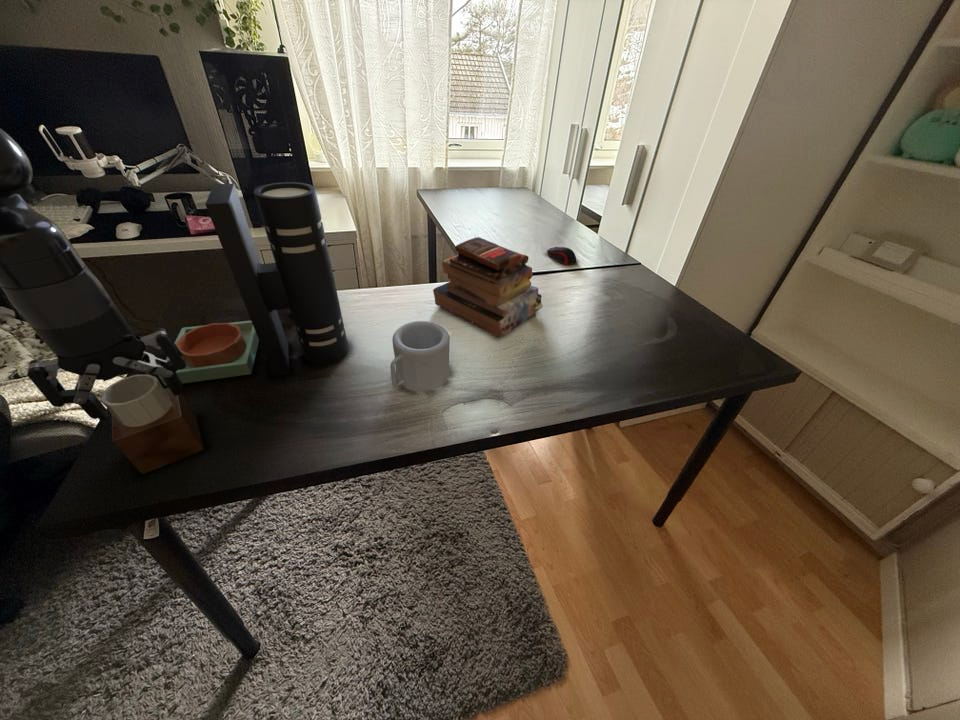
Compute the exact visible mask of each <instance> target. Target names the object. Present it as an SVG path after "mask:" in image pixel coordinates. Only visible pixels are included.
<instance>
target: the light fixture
mask: <svg viewBox="0 0 960 720" xmlns="http://www.w3.org/2000/svg"><path fill="white" fill-rule="evenodd" d="M253 195H254V198H255V202H256V205H257V208H258V211H259V215H260V218H261V220H262V224H263V225H264V230H265V234H266V237H267V241H268V242H269V247H270V250H271V253H272V256H273V259H274V262H269V263H261V259H260V257H259V254H258V253H259V252H258V250H257V248H256V245H255V241H254V238H253V235H252V233H251V229H250V227H249V223H248V221H247V218H246V215H245V212H244V211H245V210H244V209H243V205H242V202H241V199H240V196H239V194H238V191H237V188H236V185H235V183H213V185H212V188H211V190H210V192H209V194H208V197H207V199H206V202H205V205H204V206H205V207H206V210H207V212H208V215H209V217H210V220H211V223H212V225H213V228H214V231H215V232H216V236H217V237H218V240H219V243H220V246H221V248H222V251H223V253H224V255H225V258H226V260H227V263H228V266H229V269H230V271H231V273H232V275H233V278H234V281H235V283H236V286H237V288H238V290H239V294H240V296H241V299H242V301H243V303H244V306H245V309H246V311H247V315H248V316H249V319H250V321H252V324H253V326H254V329H255V332H256V334H257V337H258V339H259V344H260V347H261V350H262V352H263V354H264V357H265V360H266V362H267V364H268V367H269V370H270V372H271V375H272V377H273V378H276V377H280V376H286V375H290V360H289V359H290V356H289V355H290V354H289V343H288V340H287V336H286V334H285V330H284V327H283V325H282V322H281V319H280V316H279V313H278V310H285V309H289V311H290V314H291V318H292V321H293V324H294V328H295V331H296V334H297V336H298V340H299V345H300V347H301V350H302V353H303V356H304V357H303V358H304V359H305V360H306V361H307V362H309V363H311V364H313V365H321V366H324V365H330V364H334V363H336V362H339V361H341V360H342V359H343V358H345V357H346V356H347V354H348V352H349V349H350V348H349V343H348V339H347V333H346V329H345V324H344V320H343V316H342V310H341V306H340V305H341V304H340V301H339V300H340V299H339V295H338V290H337V286H336V280H335V276H334V272H333V267H332V261H331V257H330V252H329V248H328V242H327V239H326V238H325V237H326V233H325V227H324V223H323V222H322V214H321V209H320V204H319V200H318V195H317V189H316V187H315V186H314V185H312V184H309V183H306V182H305V183H304V182H298V181H297V182H296V181H295V182H294V181H285V182H284V181H283V182H274V183H267V184H263V185H261V186H258V187H256V188H255V189H254V190H253Z"/></svg>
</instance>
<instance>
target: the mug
mask: <svg viewBox="0 0 960 720" xmlns="http://www.w3.org/2000/svg"><path fill="white" fill-rule="evenodd" d="M450 338H451V337H450V334H449V331H448V330H447V328H445V327H444V326H443V325H441V324H439V323H437V322H433V321H429V320H414V321H410V322H408V323H407V322H406V323H404V324H403V325H401V326H400V327H398V328H397V329H396V330H395V332H394V333H393V335H392V339H391V341H392V350H393V354H394V358H393V360H392V361H391V362H390V376H391V382H392V383H391V384H392V387H394V388H398V387H400V386H402V387H403V388H405V389H407V390H410V391H413V392H414V391H415V392H431V391H433V390H436V389H439V388H440V387H442V386H443V385H445V383H446V382H447V381H448V379H449V377H450V348H451V347H450V346H451V339H450ZM397 381H398V382H397Z"/></svg>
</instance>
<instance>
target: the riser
mask: <svg viewBox="0 0 960 720" xmlns="http://www.w3.org/2000/svg"><path fill="white" fill-rule="evenodd" d="M164 390H165V391H166V393H167V394H168V396H169V399H170V400H171V407H170V409H169V410H168V412H167V413H166V414H165V415H164V416H162V417H161V418H159V419H158V420H156V421H154V422H152V423H149V424H146V425H143V426H138V427H127V426H124V425H122V424H121V423H120V422H119V421H117V419H116V418H115V417H114V416H113V415H112V414H111V441H112V442H113V444H114V445H115V446H116V447H117V448H118V449H119V450H120V451H121V453H122V454H123V455H124V456H125V457H126V459H128V460H129V461H130V463H131V464H132V465H133V466H134V468H136V469H137V471H139V473H140V474H141V475H145V474H147V473H150V472H152V471H155V470H157V469H160V468H163V467H165V466H167V465H170V464H172V463H175V462H178V461H180V460H182V459H185V458H187V457H189V456H192V455H195V454H197V453H199V452H202V451H204V450H205V449H204V444H203V440H202V436H201V432H200V428H199V424H198V420H197V417H196V415H195V414H194V412H193V411H192V410H191V408H190V406H189V404H188V403H187V401H186V400H185V398H184V397H183V395H182V393H181V394H180V395H177V396H174V394H173V393H172V391H171V390H170V388H169V387H166V388H164Z"/></svg>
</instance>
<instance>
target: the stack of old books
mask: <svg viewBox="0 0 960 720" xmlns="http://www.w3.org/2000/svg"><path fill="white" fill-rule="evenodd" d="M454 249H455V251H456V252H457V253H458V254H456V255H454V256H452V257H450V258H448V259H447V258H446V259H445V260H442V262H441V264H442V270H443V273H444V274H447V279H448V280H450V281H449V282H448V281H447V282H446V283H444V284H441V285H439V286H437V287H435V288H433V289H432V292H433V296H434V304H435V305H436V306H438V307H440V309H442V310H443V311H444V310H445V311H446V312H447V313H450V314H451V315H453V316H455V317H457V318H458V319H461V320H463V321H465V322H467V323H468V324H470V325H473V326H474V327H476V328H478V329H480V330H482V331H483V332H485V333H487V334H489V335H491V336H492V337H494V338H496V339H499V338H500V337H505V336H506V335H508V334H509V333H510V332H512V331H513V330H515V329H516V328H517V327H519V326H520V325H521V324H523V322H525V321H527V320H528V319H529V318H531V317H532V316H533V315H534V314H535V313H537V312H538V311H539V310H541V309H542V308H543V307H544V305H543V303H542V294H540V293H539V287H537V286H534V285H532V281H531V280H530V279H532V278H533V267H532V266H529V265H527V264H528V262H529V255H526V254H522V253H520V252H518V251H515V250H511V249H508V248H506V247H504V246H501V245H499V244H497V243H495V242H492V241H490V240H487V239H485V238H482V237H479V236H477V237H473V238H471V239H467V240H465V241H463V242H460V243H458V244H456V245H455V247H454Z"/></svg>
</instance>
